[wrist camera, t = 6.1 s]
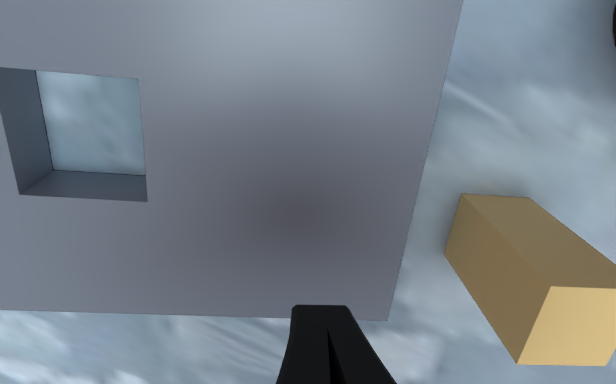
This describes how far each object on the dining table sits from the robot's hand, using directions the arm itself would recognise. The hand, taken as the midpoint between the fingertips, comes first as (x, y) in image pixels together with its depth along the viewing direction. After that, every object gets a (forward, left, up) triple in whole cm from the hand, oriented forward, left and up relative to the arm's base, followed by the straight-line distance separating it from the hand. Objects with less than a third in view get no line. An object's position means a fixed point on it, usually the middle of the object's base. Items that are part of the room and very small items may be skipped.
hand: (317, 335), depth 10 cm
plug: (-2, -10, -9) cm, 14 cm away
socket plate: (+1, +6, -9) cm, 11 cm away
